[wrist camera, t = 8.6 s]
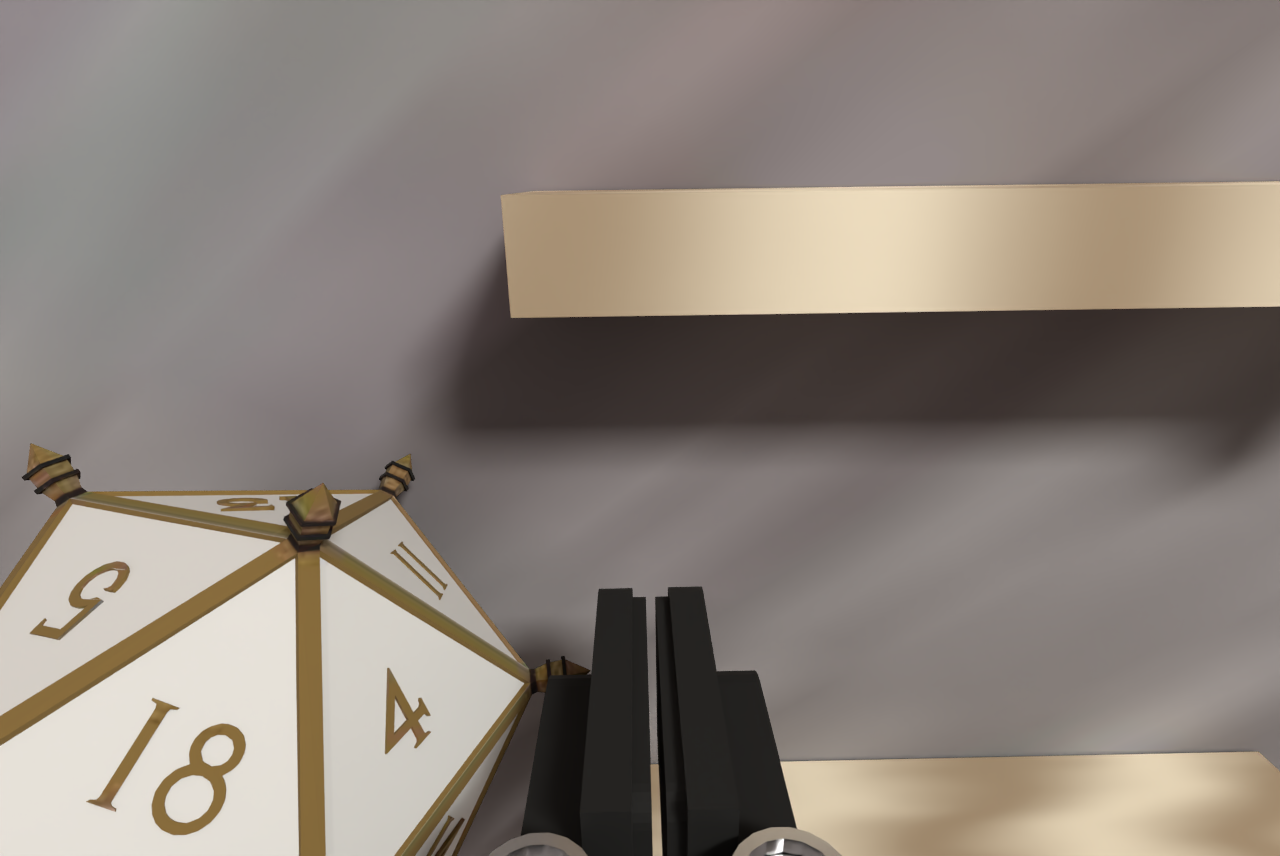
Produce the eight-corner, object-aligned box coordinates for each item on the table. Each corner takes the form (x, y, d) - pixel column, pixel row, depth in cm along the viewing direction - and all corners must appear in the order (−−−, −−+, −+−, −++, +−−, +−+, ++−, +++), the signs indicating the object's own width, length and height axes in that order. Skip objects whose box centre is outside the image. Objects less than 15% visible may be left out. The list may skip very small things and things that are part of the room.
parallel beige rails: (1501, 168, 11) (1920, 164, 7) (1236, 803, 16) (1410, 982, 12) (533, 181, 11) (485, 182, 7) (574, 817, 16) (558, 1003, 12)
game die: (483, 463, 17) (800, 672, 9) (332, 781, 16) (529, 1281, 9) (26, 290, 11) (-187, 468, 3) (-230, 779, 10) (-1191, 2366, 3)
